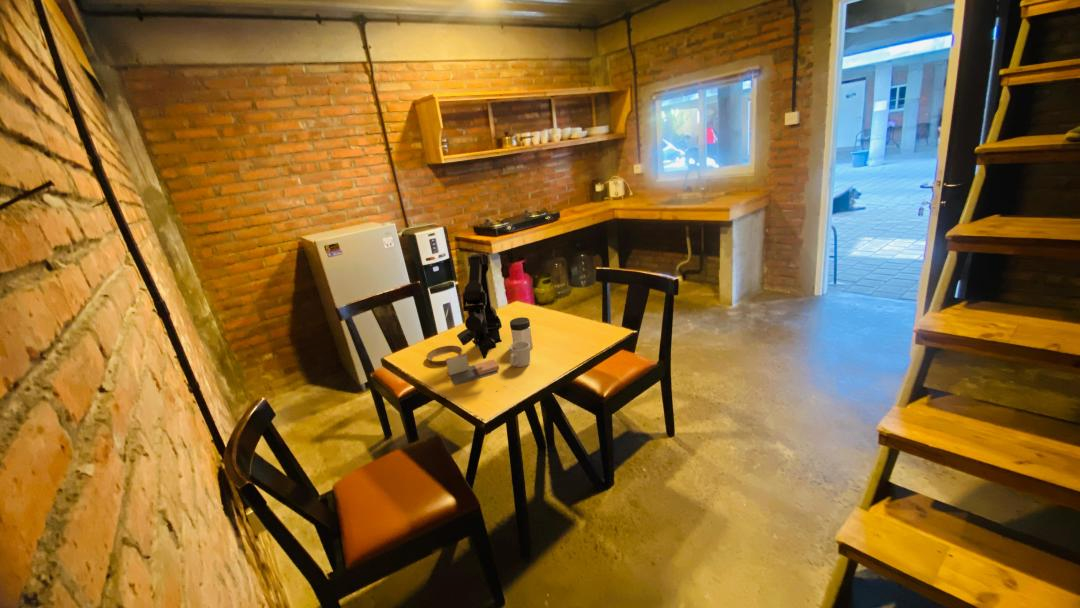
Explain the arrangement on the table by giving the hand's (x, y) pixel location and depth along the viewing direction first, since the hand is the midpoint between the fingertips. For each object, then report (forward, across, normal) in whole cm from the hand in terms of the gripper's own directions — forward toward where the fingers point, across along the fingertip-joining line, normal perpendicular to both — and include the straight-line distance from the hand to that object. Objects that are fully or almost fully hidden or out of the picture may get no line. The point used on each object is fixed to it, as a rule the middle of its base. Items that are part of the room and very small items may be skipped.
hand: (484, 358), depth 174 cm
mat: (+4, 0, -6) cm, 7 cm away
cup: (+5, +6, +12) cm, 14 cm away
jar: (+5, -9, +19) cm, 22 cm away
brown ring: (+5, -20, -12) cm, 23 cm away
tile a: (+3, -2, 0) cm, 4 cm away
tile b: (+4, -3, -10) cm, 11 cm away
